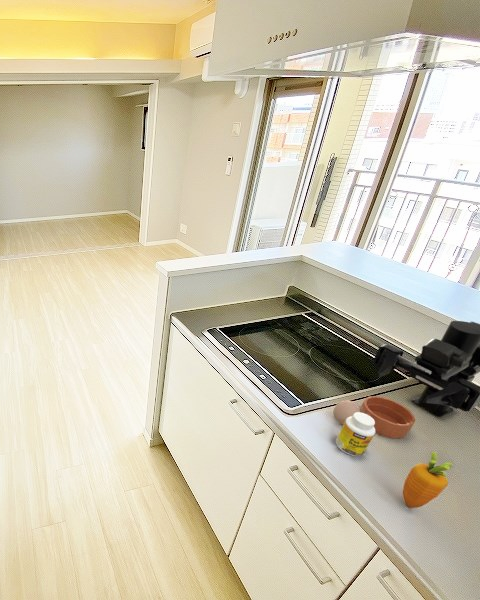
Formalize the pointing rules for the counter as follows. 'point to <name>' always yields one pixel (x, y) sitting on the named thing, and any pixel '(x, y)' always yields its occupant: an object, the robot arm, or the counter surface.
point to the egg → (344, 411)
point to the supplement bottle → (356, 434)
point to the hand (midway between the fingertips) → (400, 387)
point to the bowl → (388, 416)
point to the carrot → (425, 482)
